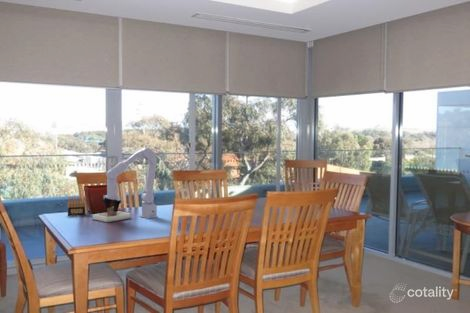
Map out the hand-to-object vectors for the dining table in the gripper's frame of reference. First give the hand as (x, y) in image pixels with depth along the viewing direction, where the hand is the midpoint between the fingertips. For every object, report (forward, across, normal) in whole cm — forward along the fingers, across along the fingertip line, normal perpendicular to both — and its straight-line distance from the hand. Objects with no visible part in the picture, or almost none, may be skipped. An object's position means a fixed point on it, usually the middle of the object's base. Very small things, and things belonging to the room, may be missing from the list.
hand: (111, 211), depth 281 cm
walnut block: (+4, 0, 0) cm, 4 cm away
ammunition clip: (+5, -28, -7) cm, 29 cm away
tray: (+5, 0, 0) cm, 5 cm away
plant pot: (+5, -30, +12) cm, 33 cm away
